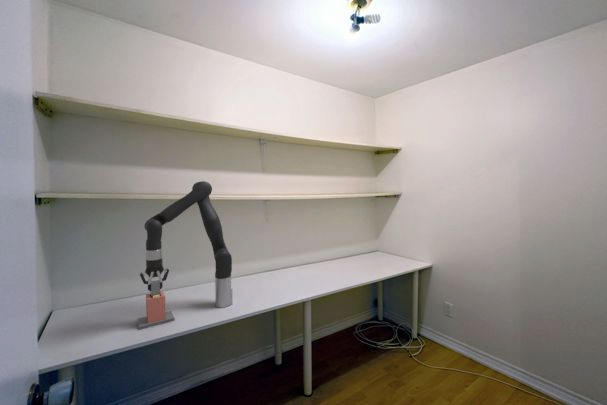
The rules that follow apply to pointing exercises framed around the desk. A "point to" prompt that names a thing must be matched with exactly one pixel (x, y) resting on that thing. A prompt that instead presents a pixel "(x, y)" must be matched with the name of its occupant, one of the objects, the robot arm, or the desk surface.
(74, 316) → the desk surface
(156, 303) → the stand sleeve
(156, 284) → the steel column
